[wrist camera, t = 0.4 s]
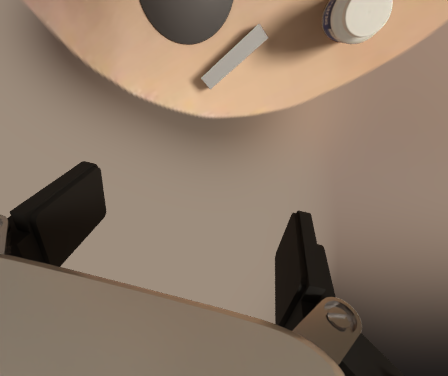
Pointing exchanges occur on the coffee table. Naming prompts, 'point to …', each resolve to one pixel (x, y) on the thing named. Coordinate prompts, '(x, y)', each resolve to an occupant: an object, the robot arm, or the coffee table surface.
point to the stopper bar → (235, 56)
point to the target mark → (187, 18)
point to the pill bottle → (355, 19)
